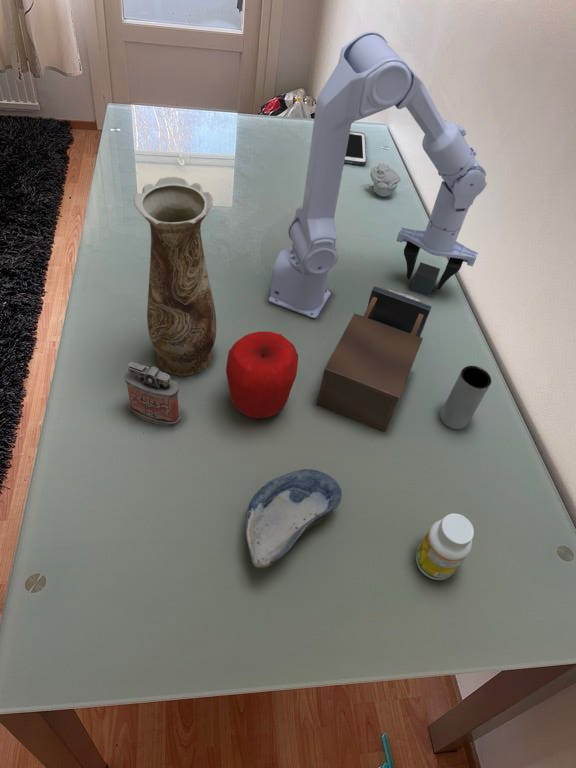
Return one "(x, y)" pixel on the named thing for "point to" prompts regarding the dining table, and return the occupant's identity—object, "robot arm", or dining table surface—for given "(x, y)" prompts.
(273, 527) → the seashell
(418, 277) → the block
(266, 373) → the apple
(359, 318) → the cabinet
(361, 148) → the cell phone
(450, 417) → the gray cylindrical tube
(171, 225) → the vase
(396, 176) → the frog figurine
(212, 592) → the dining table surface
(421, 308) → the drawer
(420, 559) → the supplement bottle
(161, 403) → the lighter
